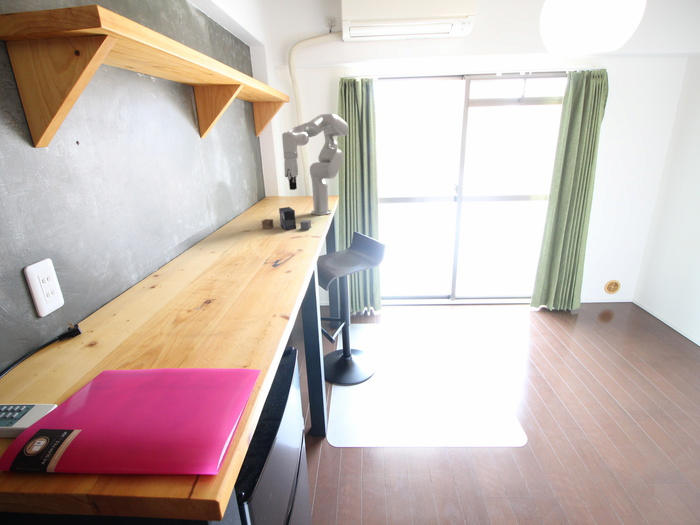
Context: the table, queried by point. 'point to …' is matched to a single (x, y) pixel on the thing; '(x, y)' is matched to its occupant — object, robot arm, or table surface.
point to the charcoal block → (305, 224)
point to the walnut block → (267, 223)
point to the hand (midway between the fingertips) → (293, 189)
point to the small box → (287, 218)
